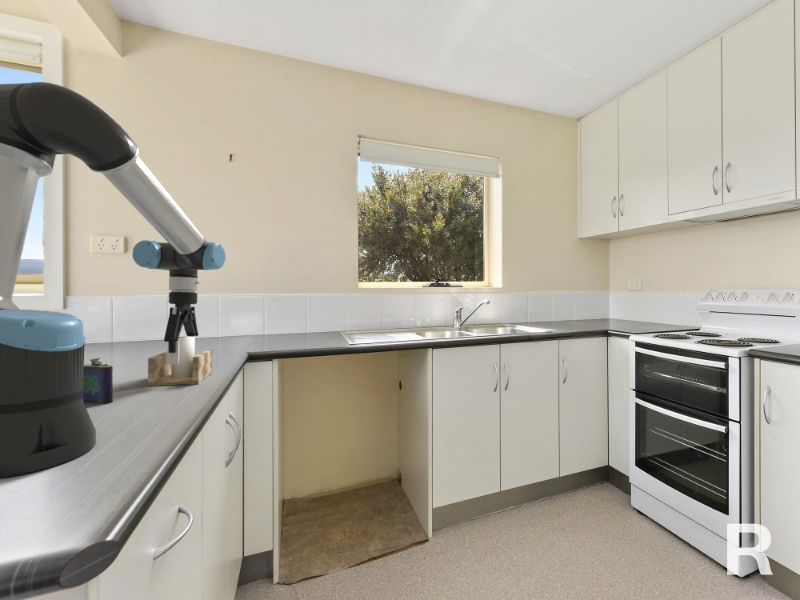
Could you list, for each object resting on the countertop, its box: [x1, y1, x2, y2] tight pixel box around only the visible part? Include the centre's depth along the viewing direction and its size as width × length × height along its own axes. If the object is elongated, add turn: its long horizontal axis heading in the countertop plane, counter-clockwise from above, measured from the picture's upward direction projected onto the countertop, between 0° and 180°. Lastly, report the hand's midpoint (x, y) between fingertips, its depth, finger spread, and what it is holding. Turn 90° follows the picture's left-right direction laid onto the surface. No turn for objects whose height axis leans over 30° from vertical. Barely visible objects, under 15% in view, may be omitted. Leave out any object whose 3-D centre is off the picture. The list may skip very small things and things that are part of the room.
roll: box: [171, 336, 194, 379], centre depth 107 cm, size 6×6×12 cm
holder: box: [147, 349, 213, 387], centre depth 107 cm, size 14×13×8 cm
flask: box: [83, 357, 114, 405], centre depth 84 cm, size 9×3×11 cm, turn 83°
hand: (182, 360), depth 107 cm, fingers open, 13 cm apart
